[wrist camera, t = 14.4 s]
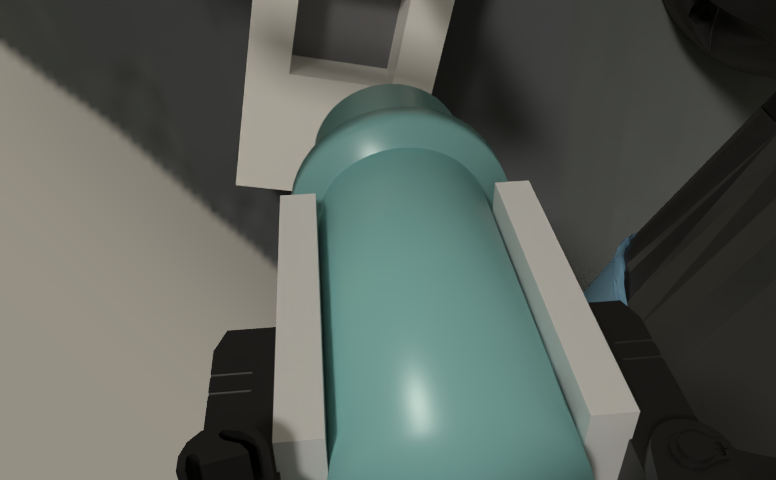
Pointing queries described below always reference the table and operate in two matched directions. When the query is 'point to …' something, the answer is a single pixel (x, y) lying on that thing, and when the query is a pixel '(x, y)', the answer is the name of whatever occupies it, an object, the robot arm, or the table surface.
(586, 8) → the table surface
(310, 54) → the grey block with rod
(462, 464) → the plug
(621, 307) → the robot arm
